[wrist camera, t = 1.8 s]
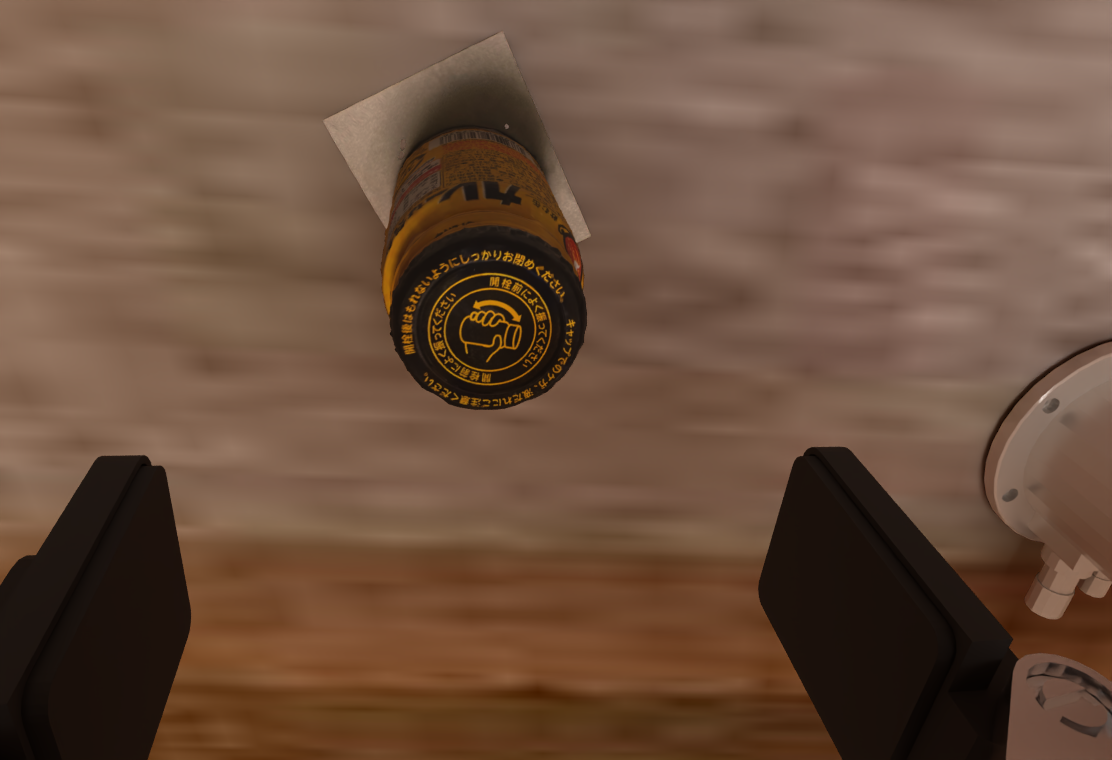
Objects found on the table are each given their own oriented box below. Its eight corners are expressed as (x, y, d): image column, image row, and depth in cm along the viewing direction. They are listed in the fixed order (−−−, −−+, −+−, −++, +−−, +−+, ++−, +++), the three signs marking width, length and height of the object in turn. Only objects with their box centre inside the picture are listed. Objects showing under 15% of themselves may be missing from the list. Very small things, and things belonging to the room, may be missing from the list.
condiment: (433, 308, 32) (434, 476, 22) (323, 119, 28) (260, 216, 18) (590, 234, 32) (668, 370, 21) (502, 30, 28) (545, 75, 17)
